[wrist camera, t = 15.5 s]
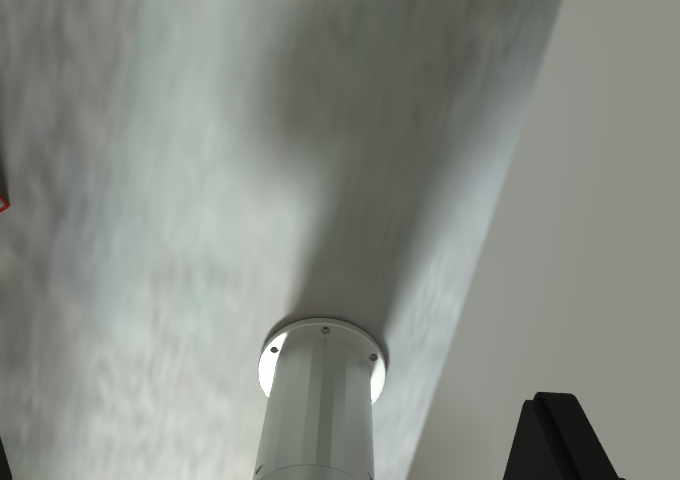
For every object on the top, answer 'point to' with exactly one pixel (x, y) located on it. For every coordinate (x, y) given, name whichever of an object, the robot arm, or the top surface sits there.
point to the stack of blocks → (3, 205)
